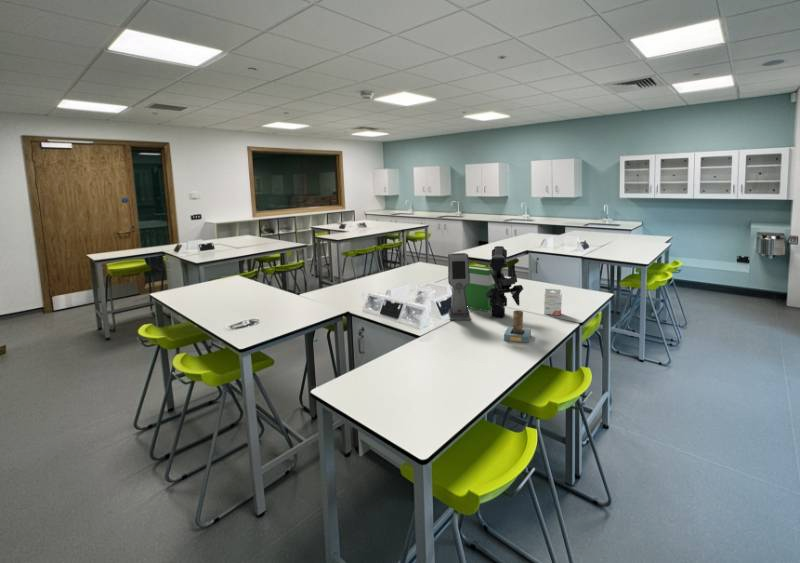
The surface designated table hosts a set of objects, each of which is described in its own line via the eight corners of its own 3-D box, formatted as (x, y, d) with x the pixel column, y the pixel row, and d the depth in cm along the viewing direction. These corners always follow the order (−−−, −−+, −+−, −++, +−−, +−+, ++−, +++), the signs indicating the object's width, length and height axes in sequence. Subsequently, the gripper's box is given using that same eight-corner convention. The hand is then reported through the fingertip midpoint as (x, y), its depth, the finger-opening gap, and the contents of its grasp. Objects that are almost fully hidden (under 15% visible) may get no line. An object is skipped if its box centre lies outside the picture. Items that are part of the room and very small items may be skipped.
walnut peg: (512, 338, 205) (512, 312, 202) (513, 335, 209) (514, 310, 206) (521, 339, 204) (522, 313, 201) (522, 336, 208) (523, 310, 205)
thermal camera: (467, 313, 247) (467, 252, 239) (471, 320, 235) (471, 256, 227) (447, 313, 247) (446, 253, 239) (449, 320, 235) (448, 257, 227)
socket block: (503, 340, 203) (503, 334, 203) (507, 332, 213) (507, 327, 213) (527, 343, 199) (528, 337, 198) (530, 335, 209) (530, 329, 208)
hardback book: (462, 306, 261) (462, 267, 256) (469, 303, 266) (469, 265, 261) (487, 311, 249) (488, 270, 244) (494, 308, 254) (495, 268, 249)
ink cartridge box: (561, 313, 240) (562, 287, 237) (560, 316, 236) (561, 289, 232) (545, 311, 244) (546, 286, 241) (543, 314, 240) (544, 288, 236)
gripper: (490, 272, 208) (502, 300, 201) (522, 269, 215) (535, 296, 208) (481, 284, 218) (491, 311, 210) (512, 280, 224) (523, 307, 217)
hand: (510, 306), depth 211 cm, fingers open, 9 cm apart
